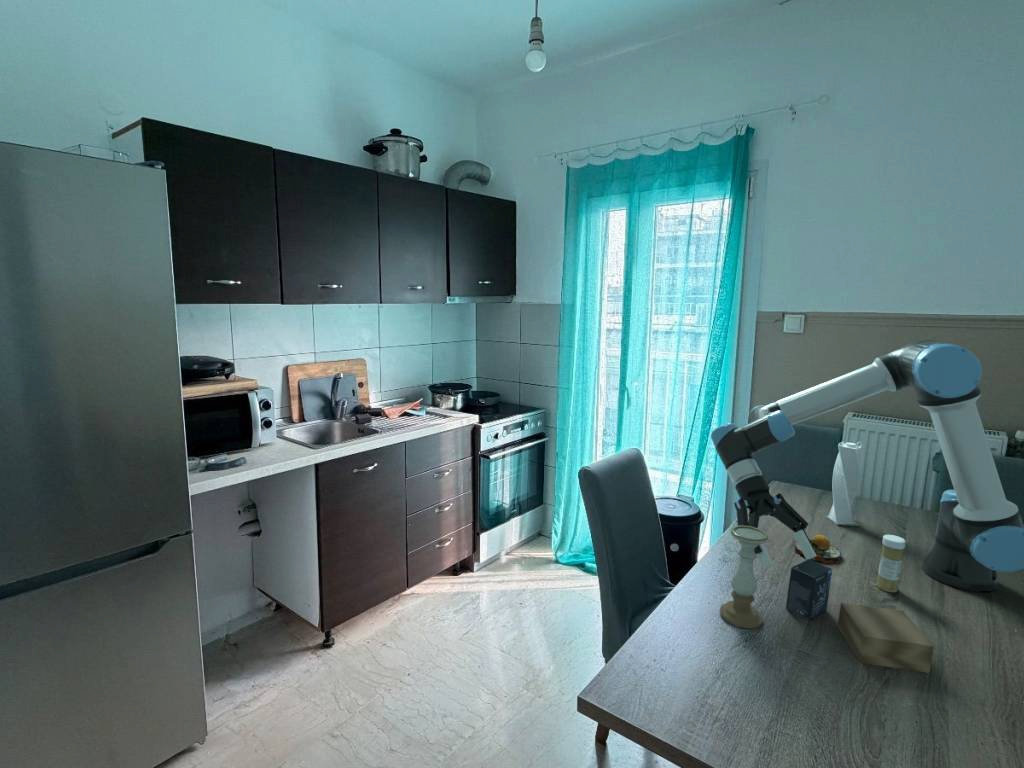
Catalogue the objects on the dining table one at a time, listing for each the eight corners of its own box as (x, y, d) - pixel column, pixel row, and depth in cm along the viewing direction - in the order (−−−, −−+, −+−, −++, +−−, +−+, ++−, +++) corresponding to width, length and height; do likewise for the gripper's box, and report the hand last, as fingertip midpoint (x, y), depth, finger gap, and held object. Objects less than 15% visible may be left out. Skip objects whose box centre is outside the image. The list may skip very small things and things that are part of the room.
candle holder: (759, 610, 122) (769, 527, 119) (764, 632, 114) (774, 544, 111) (719, 602, 125) (726, 521, 122) (720, 623, 117) (728, 537, 114)
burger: (828, 546, 157) (831, 522, 156) (849, 565, 145) (853, 540, 144) (786, 543, 158) (788, 519, 157) (803, 562, 146) (806, 537, 145)
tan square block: (899, 636, 115) (903, 610, 114) (929, 674, 103) (933, 646, 102) (837, 627, 117) (840, 602, 116) (860, 663, 106) (864, 636, 105)
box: (809, 621, 119) (815, 577, 117) (785, 608, 124) (790, 566, 122) (827, 610, 123) (833, 568, 121) (803, 599, 128) (808, 557, 126)
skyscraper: (861, 528, 169) (873, 442, 165) (836, 527, 169) (847, 441, 165) (845, 517, 178) (856, 435, 173) (821, 516, 178) (831, 434, 173)
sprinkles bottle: (884, 582, 136) (891, 532, 134) (902, 591, 132) (910, 540, 130) (871, 585, 135) (878, 535, 133) (889, 594, 131) (897, 543, 128)
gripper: (775, 482, 145) (817, 559, 133) (701, 491, 136) (739, 575, 124) (794, 469, 139) (840, 549, 128) (718, 478, 130) (760, 565, 119)
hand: (790, 562), depth 126 cm, fingers open, 13 cm apart
